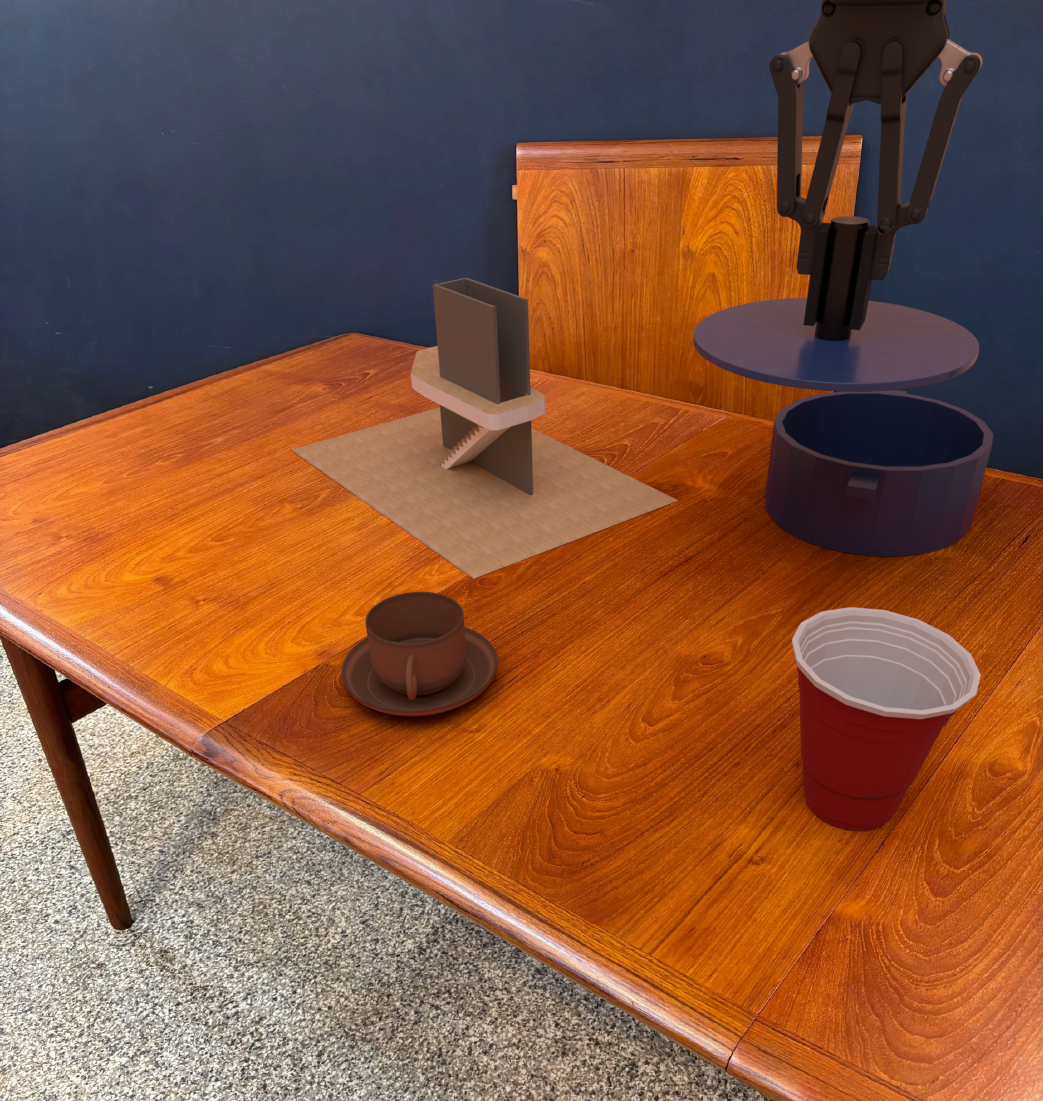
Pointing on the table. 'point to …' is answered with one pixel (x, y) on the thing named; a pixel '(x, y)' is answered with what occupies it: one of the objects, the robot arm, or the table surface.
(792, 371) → the pot lid
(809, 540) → the pot
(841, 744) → the plastic cup
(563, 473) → the architectural model
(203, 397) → the table surface
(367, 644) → the cup and saucer
